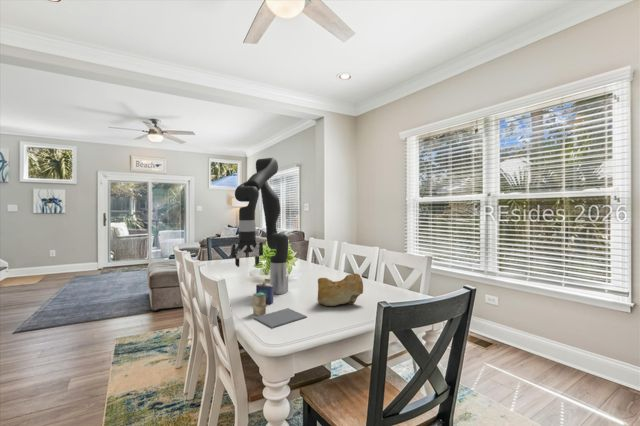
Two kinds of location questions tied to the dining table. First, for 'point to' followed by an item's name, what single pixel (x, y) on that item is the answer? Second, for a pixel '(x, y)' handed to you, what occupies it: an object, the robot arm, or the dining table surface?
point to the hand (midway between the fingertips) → (247, 265)
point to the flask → (266, 291)
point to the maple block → (259, 304)
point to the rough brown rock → (339, 290)
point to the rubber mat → (280, 317)
